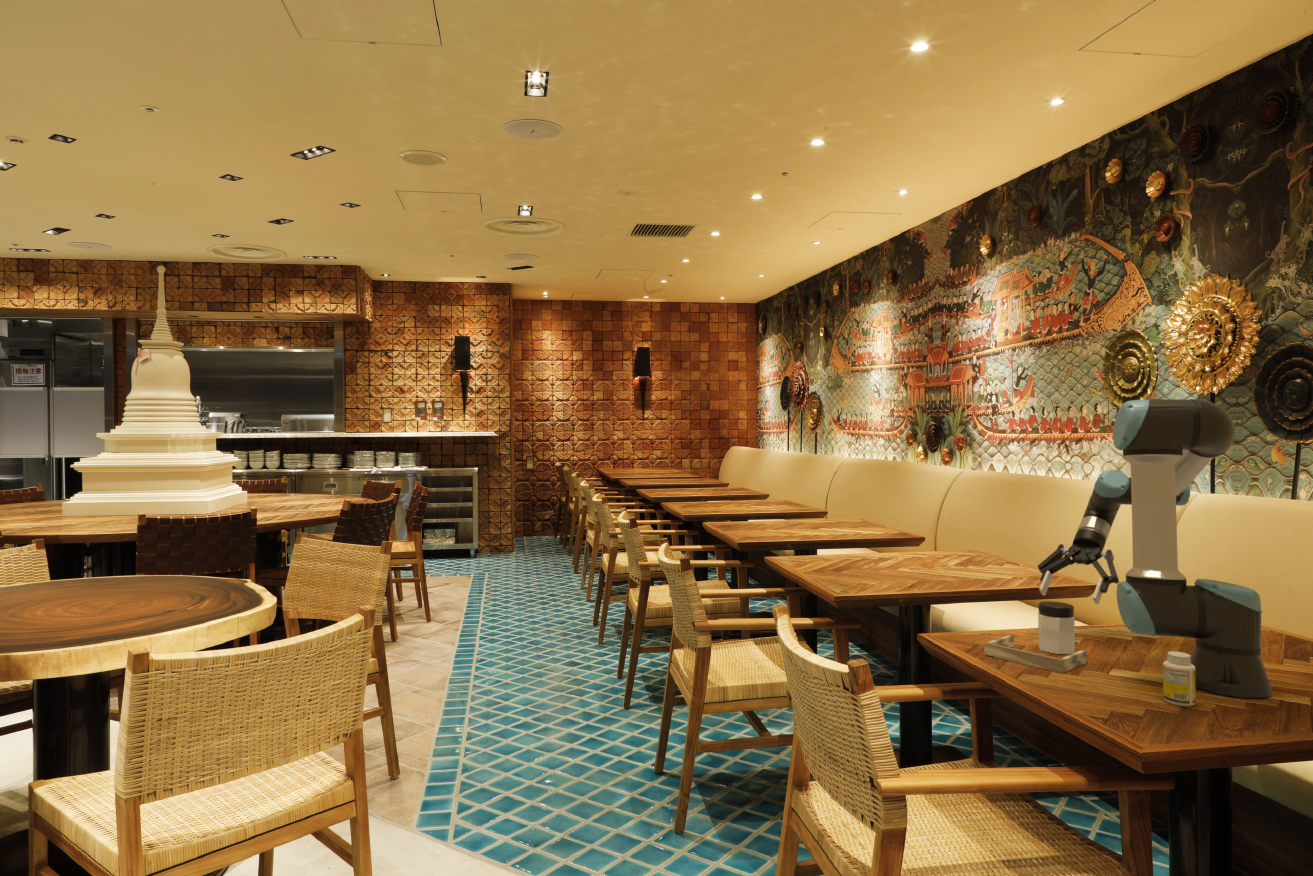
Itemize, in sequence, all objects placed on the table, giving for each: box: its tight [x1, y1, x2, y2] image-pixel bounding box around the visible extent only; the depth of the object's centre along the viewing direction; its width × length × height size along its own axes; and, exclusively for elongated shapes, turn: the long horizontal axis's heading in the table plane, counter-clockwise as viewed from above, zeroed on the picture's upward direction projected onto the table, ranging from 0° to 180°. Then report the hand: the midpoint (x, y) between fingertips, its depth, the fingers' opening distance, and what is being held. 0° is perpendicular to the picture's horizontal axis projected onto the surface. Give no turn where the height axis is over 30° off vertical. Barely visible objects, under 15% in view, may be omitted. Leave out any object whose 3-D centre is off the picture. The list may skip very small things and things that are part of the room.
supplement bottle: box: [1162, 650, 1197, 707], centre depth 156 cm, size 6×6×10 cm
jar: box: [1037, 600, 1076, 655], centre depth 194 cm, size 9×8×12 cm
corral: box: [983, 634, 1087, 674], centre depth 187 cm, size 14×19×3 cm
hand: (1067, 596), depth 200 cm, fingers open, 13 cm apart
